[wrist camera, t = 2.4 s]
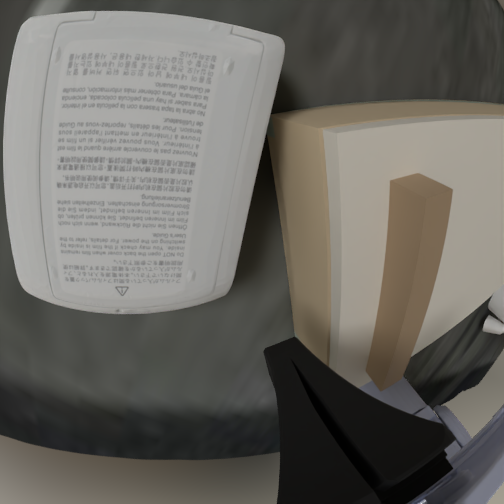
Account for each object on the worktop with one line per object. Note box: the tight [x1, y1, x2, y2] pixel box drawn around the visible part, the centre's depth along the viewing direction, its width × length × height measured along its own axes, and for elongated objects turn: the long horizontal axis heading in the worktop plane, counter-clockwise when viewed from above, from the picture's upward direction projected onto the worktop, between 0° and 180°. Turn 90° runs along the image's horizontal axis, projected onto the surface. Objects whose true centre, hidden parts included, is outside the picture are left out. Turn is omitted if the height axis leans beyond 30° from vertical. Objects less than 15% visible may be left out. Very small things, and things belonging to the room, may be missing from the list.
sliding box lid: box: [323, 115, 504, 391], centre depth 14 cm, size 16×26×3 cm, turn 101°
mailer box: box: [267, 99, 504, 367], centre depth 18 cm, size 16×26×5 cm, turn 101°
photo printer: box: [3, 11, 285, 314], centre depth 10 cm, size 10×4×12 cm
